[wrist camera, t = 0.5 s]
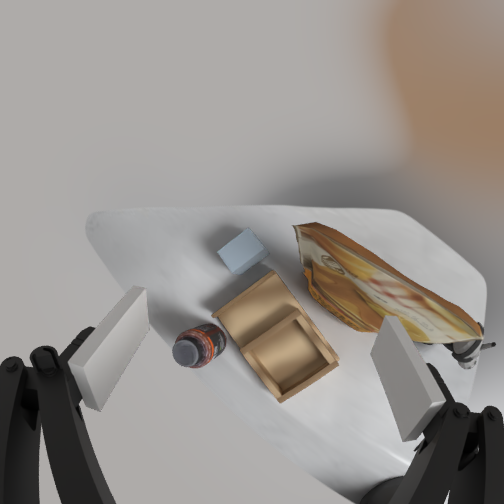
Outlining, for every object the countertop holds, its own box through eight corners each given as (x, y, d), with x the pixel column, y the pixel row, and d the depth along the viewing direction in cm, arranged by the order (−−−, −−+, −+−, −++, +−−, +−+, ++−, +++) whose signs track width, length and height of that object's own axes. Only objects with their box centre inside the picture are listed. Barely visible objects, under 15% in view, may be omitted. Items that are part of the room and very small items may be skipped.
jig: (338, 357, 43) (341, 363, 39) (279, 396, 44) (277, 405, 40) (275, 271, 47) (272, 269, 43) (218, 313, 48) (211, 315, 44)
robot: (373, 300, 44) (418, 307, 24) (391, 278, 43) (444, 269, 24) (443, 367, 39) (503, 401, 20) (459, 346, 39) (524, 369, 19)
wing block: (269, 253, 48) (264, 248, 42) (240, 275, 48) (231, 273, 42) (255, 235, 49) (248, 227, 43) (227, 256, 49) (216, 251, 43)
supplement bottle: (189, 330, 49) (159, 339, 38) (219, 318, 48) (194, 325, 37) (203, 360, 48) (176, 378, 36) (233, 349, 47) (211, 366, 36)
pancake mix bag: (311, 245, 47) (318, 184, 19) (399, 313, 42) (497, 337, 15) (287, 278, 47) (259, 261, 19) (375, 346, 42) (450, 408, 15)
